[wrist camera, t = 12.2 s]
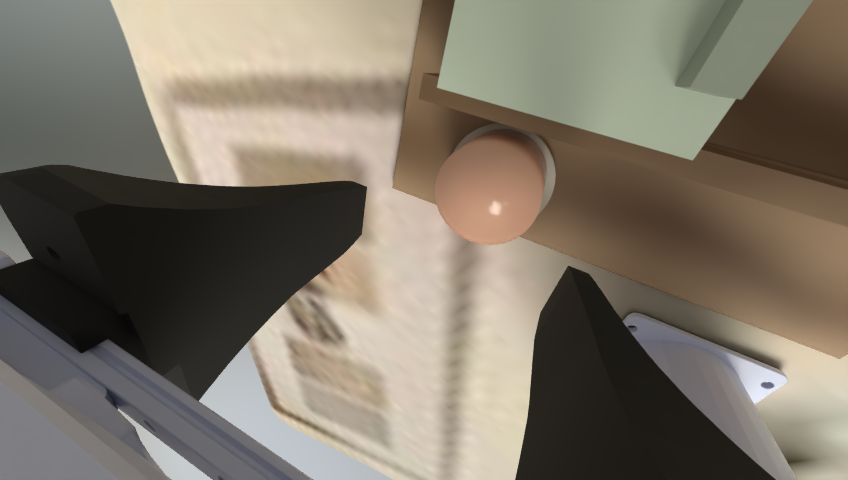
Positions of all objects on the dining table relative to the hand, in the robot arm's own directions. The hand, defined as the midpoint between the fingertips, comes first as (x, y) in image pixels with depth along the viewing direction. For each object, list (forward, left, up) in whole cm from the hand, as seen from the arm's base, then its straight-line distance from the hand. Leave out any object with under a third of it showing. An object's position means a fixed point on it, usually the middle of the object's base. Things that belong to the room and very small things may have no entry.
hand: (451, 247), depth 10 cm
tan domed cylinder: (0, 0, -8) cm, 8 cm away
